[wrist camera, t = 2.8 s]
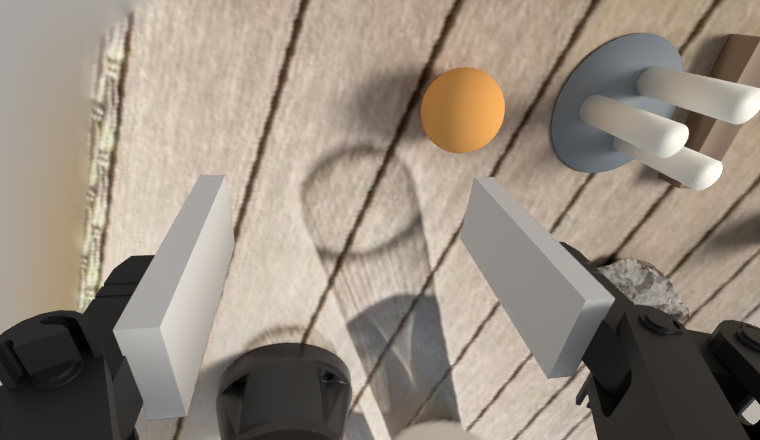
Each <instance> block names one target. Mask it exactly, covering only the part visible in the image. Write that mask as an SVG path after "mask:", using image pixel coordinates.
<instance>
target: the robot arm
mask: <svg viewBox="0 0 760 440" xmlns="http://www.w3.org/2000/svg"><path fill="white" fill-rule="evenodd" d="M460 239H461V240H462V242H463V243H464V245H465V247H466V248H467V250H468V251H469V253H470V255H471V256H472V258H473V259H474V261H475V263H476V264H477V266H478V267H479V269H480V271H481V272H482V274H483V276H484V277H485V279H486V280H487V282H488V284H489V285H490V287H491V288H492V290H493V292H494V293H495V295H496V296H497V298H498V300H499V301H500V303H501V304H502V306H503V308H504V309H505V311H506V312H507V314H508V316H509V317H510V319H511V320H512V322H513V324H514V325H515V327H516V328H517V330H518V332H519V333H520V335H521V336H522V338H523V340H524V341H525V343H526V344H527V346H528V348H529V349H530V351H531V352H532V354H533V356H534V357H535V359H536V361H537V362H538V364H539V365H540V367H541V369H542V370H543V372H544V373H545V375H546V377H547V378H548V379H549V378H558V377H568V376H574V374H575V372H576V370H577V369H578V367H579V365H580V363H581V361H583V362H584V363H585V365H586V366H587V367H588V369H589V370H590V371H591V372H590V374H589V375H588V377H587V379H586V381H585V382H584V384H583V386H582V388H581V389H580V391H579V393H578V395H577V396H576V404H577V405H581V403H582V402H583V400H584V398H585V397H586V395H588V397H589V402H588V404H587V408H590V409H591V410H592V415H593V419H594V424H595V429H596V433H597V438H598V440H760V420H759V421H758V422H757V423H756V424H754V425H753V424H751V423H749V422H748V421H747V420H746V419H745V418H744V417H743V416H742V413H743V412H744V411H745V410H746V409H747V408H748V407H749V405H750V404H751V403H752V402H753V401H754V400H755V399H756V401H757V402H758V403H759V404H760V328H758V327H755V326H752V325H751V324H748V323H744V322H739V321H735V320H725V321H722V322H721V323H720V324H719V325H718V326H717V328H716V329H715V330H714V332H713V333H712V334H709V333H703V332H698V331H692V330H687V329H686V328H685V327H684V326H683V325H682V323H680V322H679V321H678V320H676V319H675V318H674V317H673V316H671V315H669V314H667V313H665V312H664V311H662V310H660V309H657V308H654V307H651V306H648V305H639V304H636V305H635V304H634V303H633V302H632V301H631V300H629V299H628V298H627V297H626V296H625V295H624V294H623V293H622V292H621V291H620V290H619V289H618V288H617V287H616V286H615V285H614V284H613V283H612V282H611V281H610V280H609V279H608V278H606V277H605V276H604V275H603V274H602V273H601V274H600V271H599V270H598V269H597V268H596V267H595V266H594V265H593V264H590V261H589V260H588V259H587V258H586V257H584V256H583V255H582V254H581V253H580V252H579V251H578V250H576V249H574V248H573V247H571V246H569V245H568V244H566V243H564V242H558V241H557V240H556V239H555V238H554V237H553V236H552V235H551V234H550V233H549V232H548V231H547V230H546V229H545V228H544V227H543V226H542V225H541V224H540V223H539V222H538V221H537V220H536V219H535V218H534V217H533V216H532V215H531V214H530V213H529V212H528V211H527V210H526V209H525V208H524V207H523V206H522V205H521V204H520V203H519V202H518V201H517V200H516V199H515V198H514V197H513V196H512V195H511V194H510V193H509V192H508V191H507V190H506V189H505V188H504V187H503V186H502V185H501V184H500V183H499V182H498V181H497V180H496V179H495V178H494V177H474V181H473V185H472V189H471V194H470V198H469V202H468V207H467V211H466V215H465V219H464V224H463V228H462V232H461V237H460ZM234 245H235V242H234V235H233V227H232V220H231V213H230V206H229V199H228V191H227V184H226V177H225V175H200V177H199V178H198V180H197V182H196V184H195V185H194V187H193V189H192V191H191V193H190V194H189V196H188V198H187V200H186V201H185V203H184V205H183V207H182V208H181V210H180V212H179V214H178V216H177V217H176V219H175V221H174V223H173V224H172V226H171V228H170V230H169V231H168V233H167V235H166V237H165V239H164V240H163V242H162V244H161V246H160V247H159V249H158V251H157V253H156V254H155V255H144V256H131V257H129V258H128V259H127V260H125V261H124V262H123V263H121V264H120V265H118V266H117V267H116V268H114V270H113V271H112V272H111V274H110V275H109V277H108V278H107V280H106V281H105V283H104V287H101V289H100V290H99V291H98V293H97V294H96V296H95V299H93V300H92V302H91V303H90V305H89V306H88V307H87V309H86V310H85V312H84V313H83V314H81V313H78V312H76V311H64V310H59V311H53V312H48V313H43V314H39V315H37V316H34V317H32V318H29V319H26V320H24V321H21V322H20V323H18V324H16V325H15V326H13V327H11V328H10V329H8V330H6V331H5V332H3V333H2V334H1V335H0V381H1V382H2V384H3V385H2V386H0V440H139V436H138V434H137V431H136V429H135V427H134V426H135V423H136V421H137V418H138V415H139V413H140V410H141V408H142V405H143V408H144V410H145V413H146V415H147V418H148V420H158V419H168V418H177V417H187V414H188V411H189V407H190V404H191V400H192V396H193V393H194V389H195V386H196V382H197V378H198V375H199V371H200V367H201V364H202V360H203V357H204V353H205V349H206V346H207V342H208V339H209V335H210V331H211V328H212V324H213V321H214V317H215V313H216V310H217V306H218V303H219V299H220V295H221V292H222V288H223V284H224V281H225V277H226V274H227V270H228V266H229V263H230V259H231V256H232V252H233V248H234ZM351 400H352V388H351V379H350V373H349V370H348V368H347V366H346V365H345V363H344V362H343V361H342V360H341V359H340V358H339V357H338V356H336V355H335V354H333V353H331V352H329V351H327V350H325V349H322V348H319V347H316V346H312V345H306V344H278V345H272V346H267V347H263V348H260V349H257V350H254V351H252V352H250V353H248V354H246V355H244V356H242V357H240V358H239V359H238V360H236V361H235V362H234V363H232V364H231V365H230V366H229V367H228V369H227V370H226V371H225V373H224V374H223V376H222V378H221V381H220V385H219V390H218V394H217V399H216V411H217V418H218V425H219V431H220V438H221V440H343V436H344V431H345V427H346V422H347V418H348V413H349V409H350V404H351Z"/></svg>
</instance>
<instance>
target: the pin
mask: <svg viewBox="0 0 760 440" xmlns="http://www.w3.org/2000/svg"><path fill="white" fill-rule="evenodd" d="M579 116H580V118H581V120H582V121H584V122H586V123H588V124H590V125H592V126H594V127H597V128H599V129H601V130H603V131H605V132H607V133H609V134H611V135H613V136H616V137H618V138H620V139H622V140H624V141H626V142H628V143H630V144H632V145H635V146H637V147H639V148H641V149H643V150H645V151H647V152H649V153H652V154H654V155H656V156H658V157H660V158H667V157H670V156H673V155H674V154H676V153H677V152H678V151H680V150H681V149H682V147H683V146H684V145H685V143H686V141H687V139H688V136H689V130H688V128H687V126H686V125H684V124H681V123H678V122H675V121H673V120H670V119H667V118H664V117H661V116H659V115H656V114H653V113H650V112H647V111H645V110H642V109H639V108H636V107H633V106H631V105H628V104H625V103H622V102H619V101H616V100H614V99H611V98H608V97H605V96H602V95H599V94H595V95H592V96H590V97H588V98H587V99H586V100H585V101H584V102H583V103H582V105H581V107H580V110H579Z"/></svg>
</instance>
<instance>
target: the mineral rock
mask: <svg viewBox="0 0 760 440" xmlns="http://www.w3.org/2000/svg"><path fill="white" fill-rule="evenodd" d="M597 269H598V270H599V271H600V274H601V273H602V274H603V275H604V276H605V277H606V278H608V279H609V280H610V281H611V282H612V283H613V284H614V285H615V286H616V287H617V288H618V289H619V290H620V291H621V292H622V293H623V294H624V295H625V296H626V297H627V298H628V299H629V300H631V301H632V302H633V303H634V304H635V305H636V304H639V305H648V306H651V307H654V308H657V309H660V310H662V311H664V312H665V313H667V314H669V315H671V316H673V317H674V318H675V319H676V320H678V321H679V322H680V323H681V322H682V321H685V320H687V319H689V309H688V305H687V304H685V303H683V301H681V300H682V299H681V297H680V295H679V294H678V293H676V291H675V287H674V285H673V284H672V283H671V282H670V281H668V279H667V278H666V277H664V274H663V273H662V272H660V271H659V270H657V269H656V268H655V267H654V266H653V265H651V264H649V263H647V262H644V261H641V260H636V259H635V258H633V257H631V258H628V259H620V260H618V261H617V262H615V263H613V264H611V265H608V266H607V265H606V266H601V267H599V268H597Z"/></svg>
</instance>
